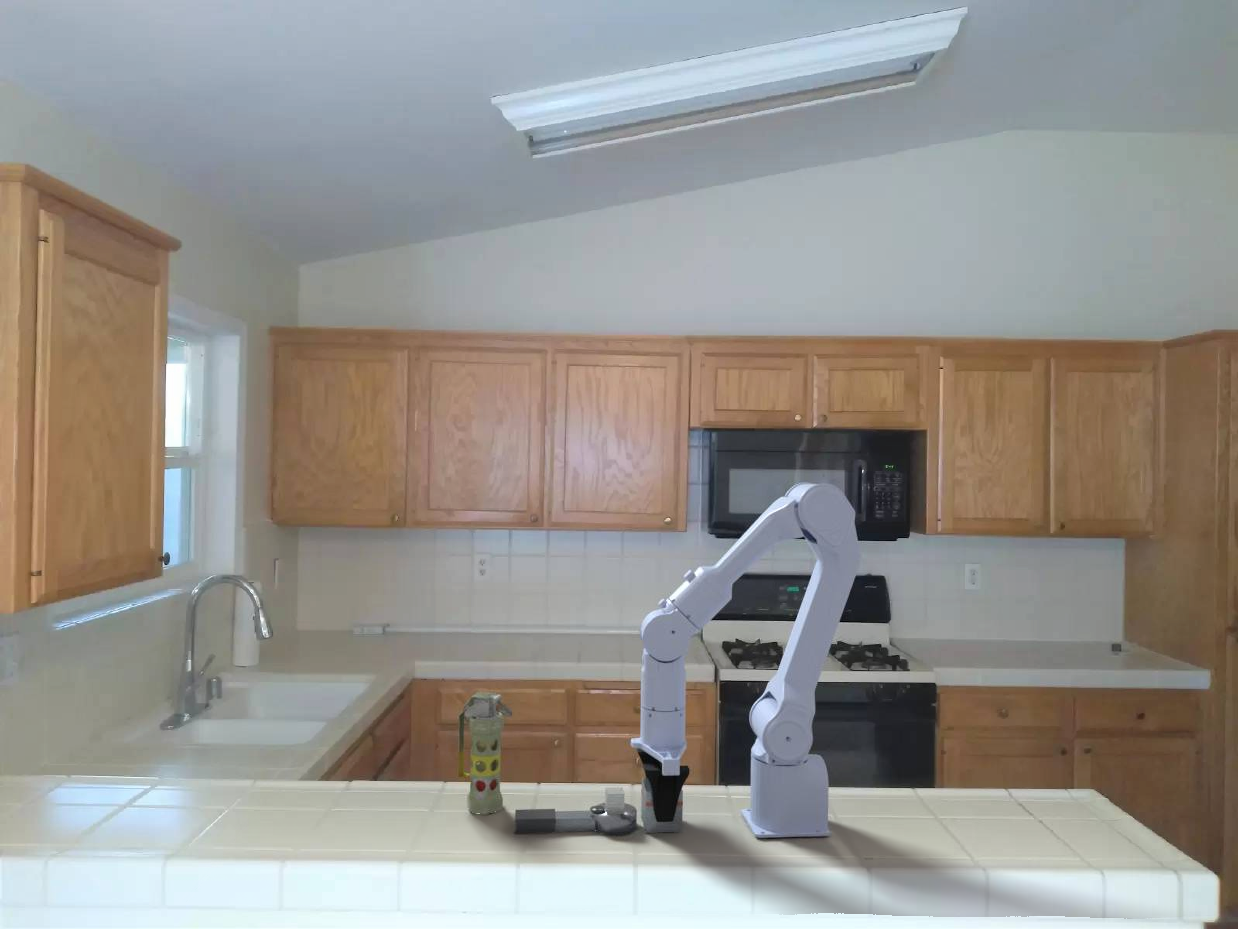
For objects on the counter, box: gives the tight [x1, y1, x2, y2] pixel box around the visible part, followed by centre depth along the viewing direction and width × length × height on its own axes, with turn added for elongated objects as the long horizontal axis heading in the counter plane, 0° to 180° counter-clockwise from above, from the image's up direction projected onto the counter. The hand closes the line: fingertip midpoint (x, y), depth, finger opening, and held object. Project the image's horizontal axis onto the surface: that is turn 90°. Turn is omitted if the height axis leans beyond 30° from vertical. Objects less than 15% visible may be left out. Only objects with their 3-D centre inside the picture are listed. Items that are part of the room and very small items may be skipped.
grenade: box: [457, 691, 514, 815], centre depth 115 cm, size 6×7×15 cm
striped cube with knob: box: [640, 777, 684, 834], centre depth 110 cm, size 5×5×6 cm
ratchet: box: [514, 786, 638, 837], centre depth 109 cm, size 15×6×4 cm, turn 96°
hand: (661, 812), depth 110 cm, fingers closed on striped cube with knob, 5 cm apart
